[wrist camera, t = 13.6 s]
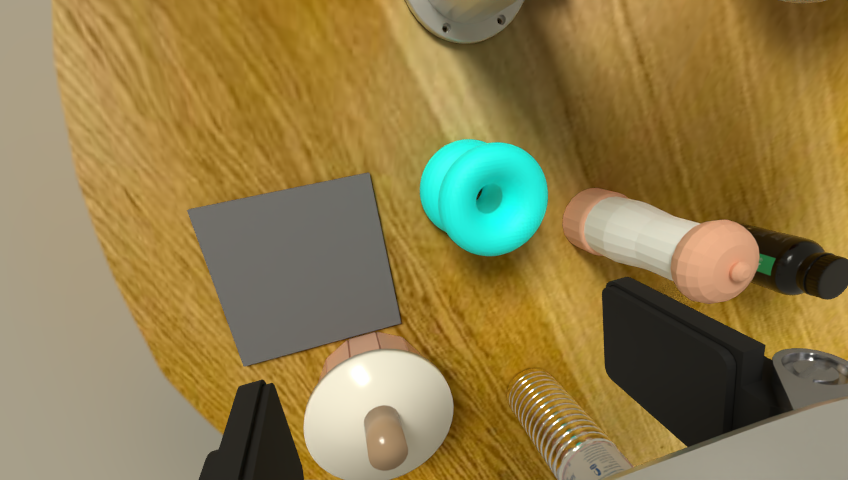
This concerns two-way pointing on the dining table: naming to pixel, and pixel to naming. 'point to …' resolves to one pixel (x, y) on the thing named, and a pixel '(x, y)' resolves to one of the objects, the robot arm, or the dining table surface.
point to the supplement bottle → (797, 265)
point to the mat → (298, 266)
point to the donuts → (484, 195)
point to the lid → (378, 415)
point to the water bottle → (562, 429)
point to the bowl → (365, 348)
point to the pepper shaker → (664, 244)
